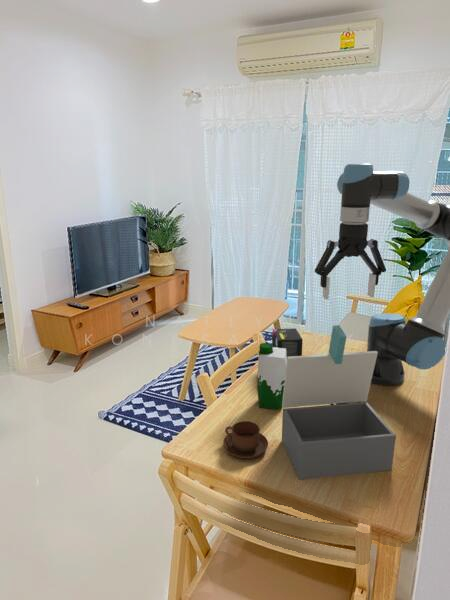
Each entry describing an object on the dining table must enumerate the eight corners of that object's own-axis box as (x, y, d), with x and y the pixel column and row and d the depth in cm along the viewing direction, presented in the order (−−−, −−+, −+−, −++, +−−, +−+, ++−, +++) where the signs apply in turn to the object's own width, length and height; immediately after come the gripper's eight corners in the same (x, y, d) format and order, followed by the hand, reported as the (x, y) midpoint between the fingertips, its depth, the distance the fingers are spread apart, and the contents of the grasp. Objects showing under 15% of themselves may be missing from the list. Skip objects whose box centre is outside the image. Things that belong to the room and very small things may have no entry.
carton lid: (371, 409, 119) (364, 397, 124) (390, 333, 107) (381, 322, 112) (285, 416, 116) (281, 404, 120) (295, 339, 104) (289, 328, 109)
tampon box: (270, 364, 169) (271, 328, 165) (294, 363, 170) (295, 327, 166) (276, 377, 159) (277, 339, 155) (301, 376, 160) (303, 338, 155)
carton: (363, 433, 125) (366, 402, 122) (391, 470, 110) (396, 435, 107) (281, 440, 122) (282, 408, 119) (298, 479, 107) (300, 444, 104)
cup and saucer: (219, 460, 114) (219, 439, 112) (227, 433, 126) (227, 414, 124) (266, 465, 112) (266, 444, 111) (269, 437, 124) (269, 418, 122)
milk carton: (259, 395, 146) (260, 339, 140) (286, 398, 144) (288, 341, 139) (255, 409, 138) (256, 350, 132) (284, 412, 136) (286, 352, 130)
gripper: (314, 225, 115) (310, 302, 121) (403, 223, 118) (395, 298, 124) (305, 222, 122) (302, 295, 128) (390, 220, 125) (382, 291, 132)
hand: (348, 297), depth 126 cm, fingers open, 13 cm apart
